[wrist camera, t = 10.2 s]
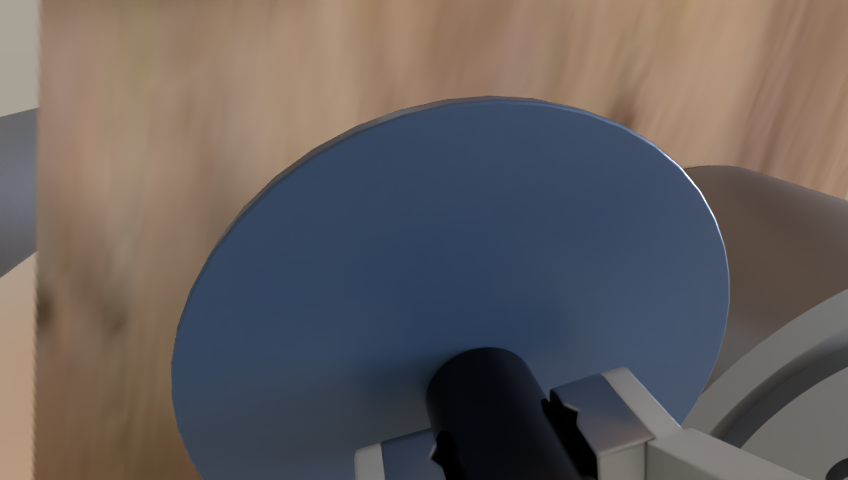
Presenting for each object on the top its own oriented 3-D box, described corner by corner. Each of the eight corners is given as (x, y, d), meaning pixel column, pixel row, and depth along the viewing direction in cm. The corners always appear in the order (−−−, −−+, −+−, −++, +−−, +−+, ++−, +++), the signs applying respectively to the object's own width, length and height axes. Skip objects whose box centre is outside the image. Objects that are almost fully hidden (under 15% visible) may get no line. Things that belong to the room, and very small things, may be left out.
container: (477, 246, 29) (584, 393, 17) (826, 111, 30) (1157, 161, 18) (547, 479, 40) (640, 666, 28) (798, 376, 41) (991, 514, 29)
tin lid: (274, 569, 13) (243, 876, 8) (81, 149, 7) (-326, 335, 3) (663, 462, 14) (826, 669, 10) (732, 49, 9) (1169, 63, 4)
